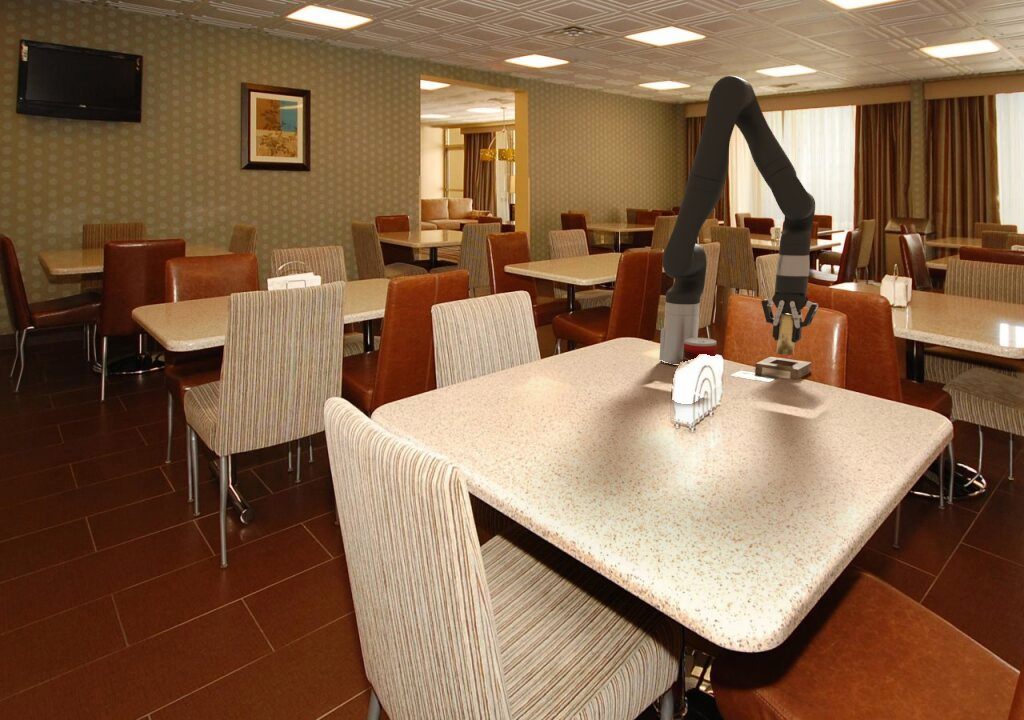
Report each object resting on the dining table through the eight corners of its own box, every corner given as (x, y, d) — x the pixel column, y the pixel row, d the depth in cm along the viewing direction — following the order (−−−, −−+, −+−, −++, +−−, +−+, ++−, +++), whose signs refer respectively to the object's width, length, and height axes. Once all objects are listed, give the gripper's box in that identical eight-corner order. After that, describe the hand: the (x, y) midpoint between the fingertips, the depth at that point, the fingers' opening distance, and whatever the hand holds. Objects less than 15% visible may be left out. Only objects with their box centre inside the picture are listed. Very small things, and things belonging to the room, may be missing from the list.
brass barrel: (774, 353, 171) (777, 314, 169) (779, 351, 174) (783, 312, 172) (790, 355, 169) (794, 316, 167) (795, 353, 172) (799, 314, 170)
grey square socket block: (754, 378, 172) (755, 363, 171) (769, 371, 180) (770, 356, 179) (796, 385, 166) (798, 369, 165) (810, 377, 174) (811, 362, 173)
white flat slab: (729, 381, 169) (729, 375, 169) (739, 376, 175) (740, 370, 174) (768, 388, 163) (769, 382, 163) (778, 382, 168) (779, 376, 168)
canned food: (717, 382, 168) (720, 339, 166) (708, 389, 162) (711, 344, 159) (687, 378, 172) (689, 336, 170) (677, 385, 166) (680, 341, 163)
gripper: (758, 272, 169) (753, 339, 173) (817, 276, 160) (810, 346, 164) (769, 270, 174) (763, 335, 178) (827, 274, 165) (820, 342, 169)
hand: (786, 340), depth 171 cm, fingers closed on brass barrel, 4 cm apart
